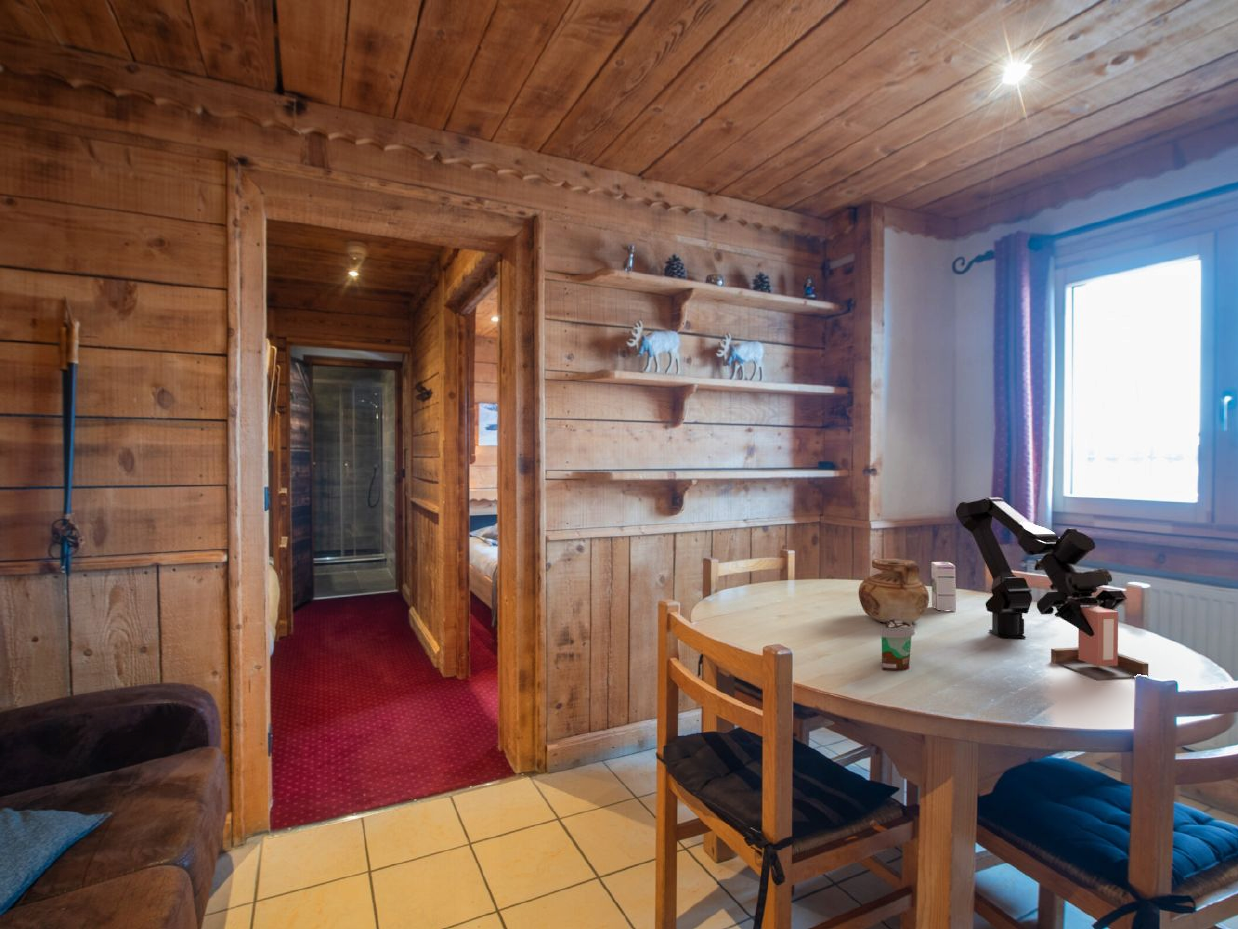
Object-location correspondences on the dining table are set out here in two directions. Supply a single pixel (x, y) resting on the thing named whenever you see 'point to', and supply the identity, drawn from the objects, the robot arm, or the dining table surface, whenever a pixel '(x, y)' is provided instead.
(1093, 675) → the tray
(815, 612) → the dining table surface
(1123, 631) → the dining table surface
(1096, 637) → the red block
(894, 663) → the food container
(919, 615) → the clay pot
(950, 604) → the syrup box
